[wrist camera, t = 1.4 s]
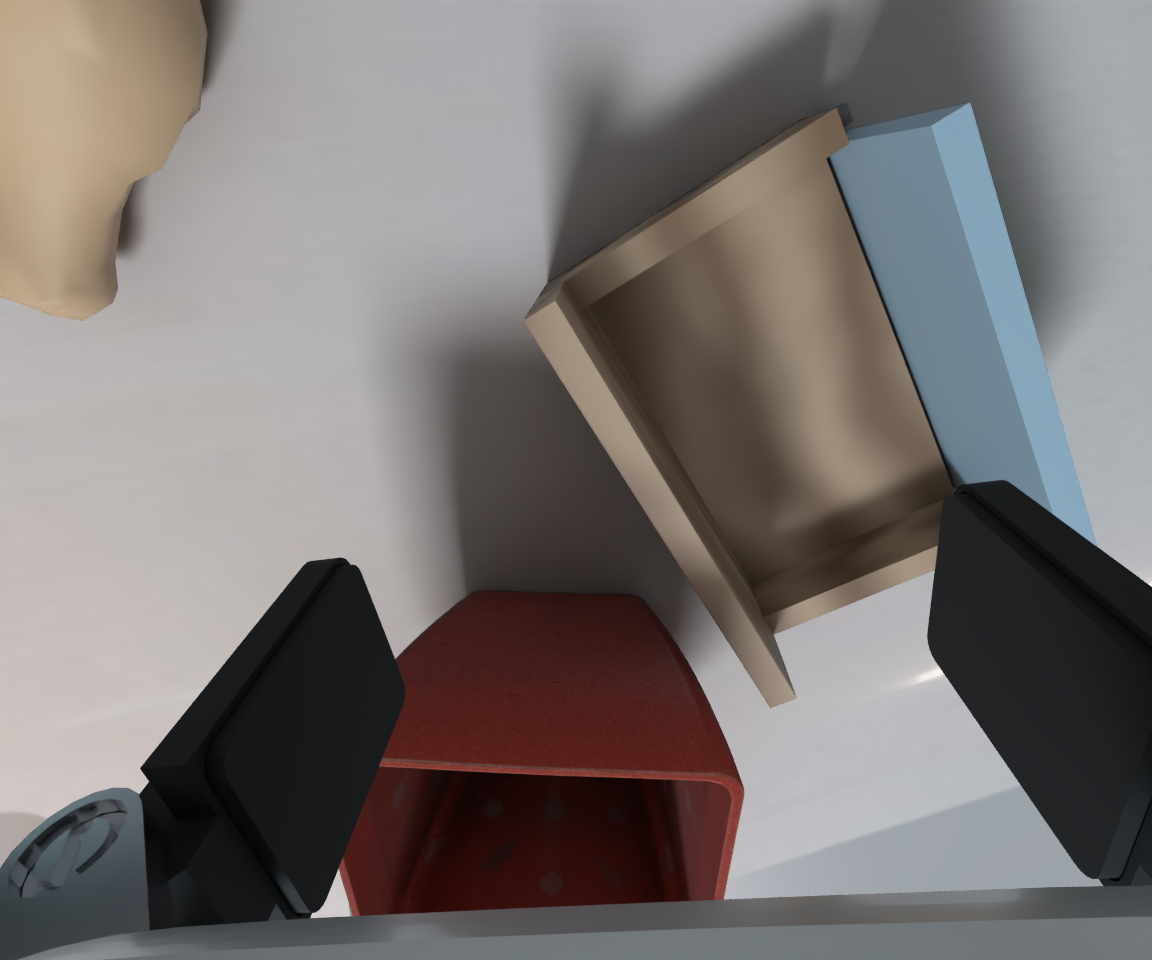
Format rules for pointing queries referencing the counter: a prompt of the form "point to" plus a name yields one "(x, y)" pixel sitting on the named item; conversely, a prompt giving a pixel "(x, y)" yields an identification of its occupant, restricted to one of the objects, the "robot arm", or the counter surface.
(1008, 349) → the panel
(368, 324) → the counter surface
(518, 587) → the counter surface
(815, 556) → the box
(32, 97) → the squash
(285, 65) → the counter surface
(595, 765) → the plant pot
